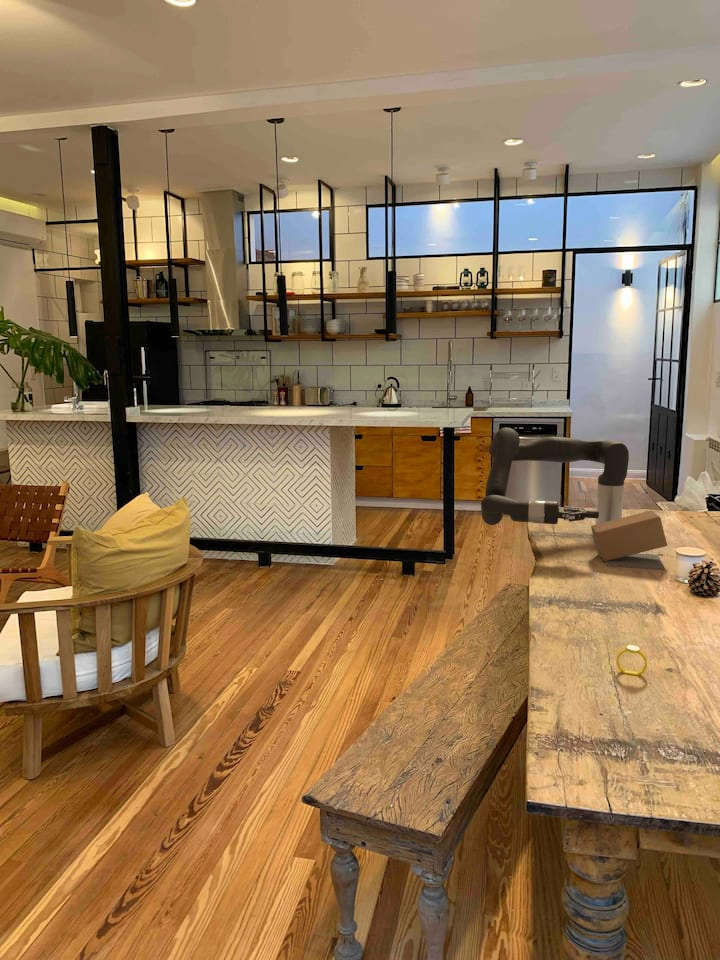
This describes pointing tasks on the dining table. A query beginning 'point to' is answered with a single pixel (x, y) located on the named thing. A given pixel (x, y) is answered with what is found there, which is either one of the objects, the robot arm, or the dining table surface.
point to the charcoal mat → (637, 561)
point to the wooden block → (629, 535)
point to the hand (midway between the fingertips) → (598, 514)
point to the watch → (632, 650)
